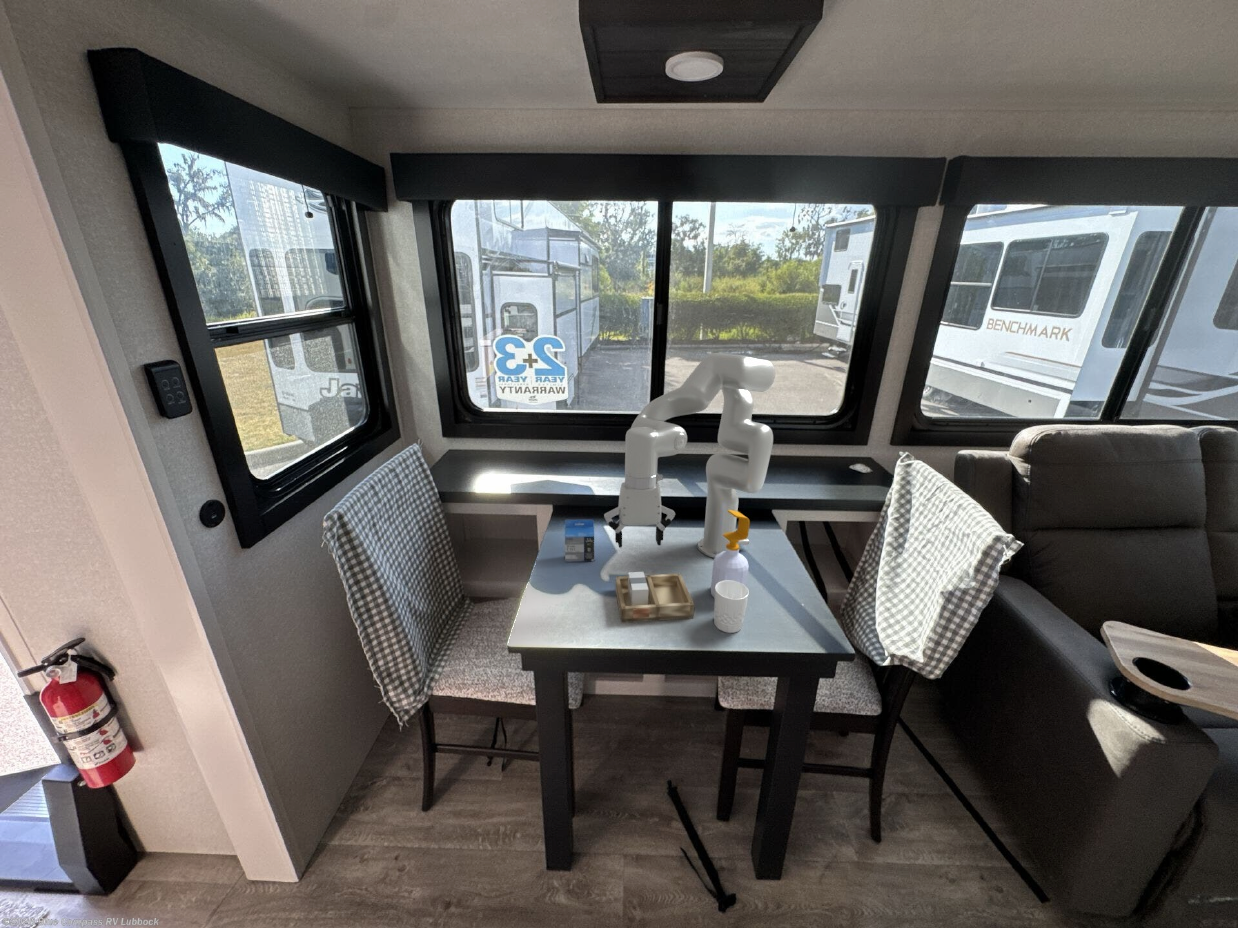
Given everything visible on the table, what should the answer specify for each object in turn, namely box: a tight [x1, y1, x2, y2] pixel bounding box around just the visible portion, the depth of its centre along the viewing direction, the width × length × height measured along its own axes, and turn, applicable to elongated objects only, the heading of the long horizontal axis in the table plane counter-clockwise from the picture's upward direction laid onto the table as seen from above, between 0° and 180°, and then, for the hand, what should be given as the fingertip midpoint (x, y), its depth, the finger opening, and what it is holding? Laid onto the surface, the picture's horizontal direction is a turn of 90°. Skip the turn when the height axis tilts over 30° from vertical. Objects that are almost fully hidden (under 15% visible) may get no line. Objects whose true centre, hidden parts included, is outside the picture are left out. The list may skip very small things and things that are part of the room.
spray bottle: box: [710, 510, 751, 599], centre depth 124 cm, size 9×9×25 cm
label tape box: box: [564, 519, 595, 563], centre depth 142 cm, size 9×4×12 cm, turn 94°
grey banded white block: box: [627, 571, 648, 606], centre depth 122 cm, size 4×8×6 cm, turn 6°
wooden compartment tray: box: [614, 573, 695, 624], centre depth 123 cm, size 18×15×4 cm
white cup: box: [713, 580, 750, 634], centre depth 115 cm, size 8×8×10 cm
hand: (639, 543), depth 117 cm, fingers open, 9 cm apart
